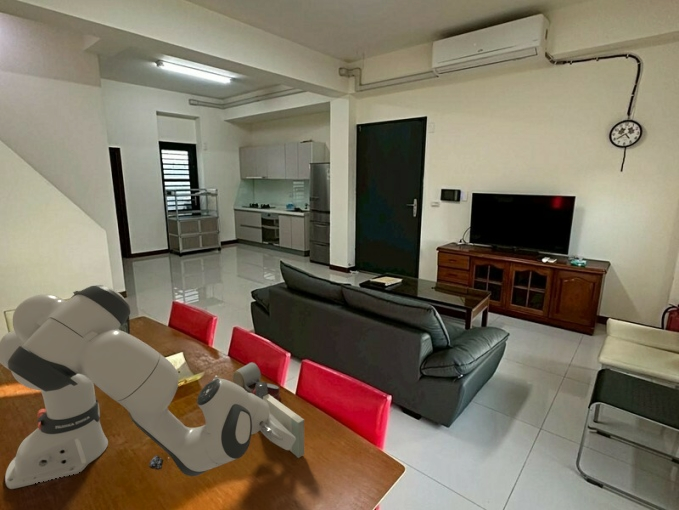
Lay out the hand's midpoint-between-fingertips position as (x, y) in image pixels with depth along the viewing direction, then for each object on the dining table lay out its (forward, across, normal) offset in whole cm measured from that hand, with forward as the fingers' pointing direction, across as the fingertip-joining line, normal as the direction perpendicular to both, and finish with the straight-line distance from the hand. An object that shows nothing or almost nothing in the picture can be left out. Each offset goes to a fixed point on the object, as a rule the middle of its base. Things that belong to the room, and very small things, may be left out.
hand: (284, 431), depth 104 cm
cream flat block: (+5, +3, +3) cm, 7 cm away
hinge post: (+5, +14, +4) cm, 16 cm away
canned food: (+11, +27, -2) cm, 29 cm away
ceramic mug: (+10, +38, -1) cm, 39 cm away
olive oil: (-12, +101, +22) cm, 104 cm away
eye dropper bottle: (0, +32, +9) cm, 33 cm away
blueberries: (-16, +18, +25) cm, 35 cm away
